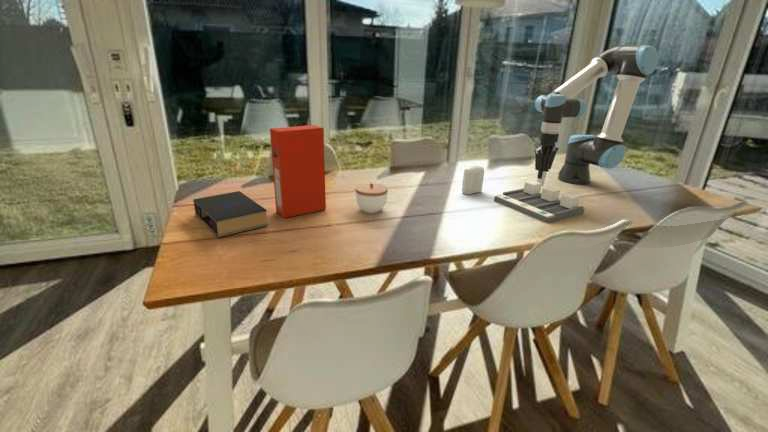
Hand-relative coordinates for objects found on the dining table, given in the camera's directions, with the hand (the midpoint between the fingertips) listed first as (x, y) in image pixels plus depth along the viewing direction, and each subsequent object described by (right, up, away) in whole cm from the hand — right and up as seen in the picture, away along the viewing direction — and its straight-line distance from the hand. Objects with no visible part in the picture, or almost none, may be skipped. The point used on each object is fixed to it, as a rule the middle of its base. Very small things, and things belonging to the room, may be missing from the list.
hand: (539, 185), depth 182 cm
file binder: (-102, -12, -23) cm, 105 cm away
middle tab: (+1, -7, -9) cm, 11 cm away
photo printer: (-30, -3, +4) cm, 30 cm away
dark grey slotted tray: (-6, -10, -11) cm, 16 cm away
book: (-125, -16, -34) cm, 131 cm away
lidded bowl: (-75, -11, -20) cm, 78 cm away
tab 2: (+5, -10, -16) cm, 20 cm away
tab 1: (-4, -3, -1) cm, 6 cm away
